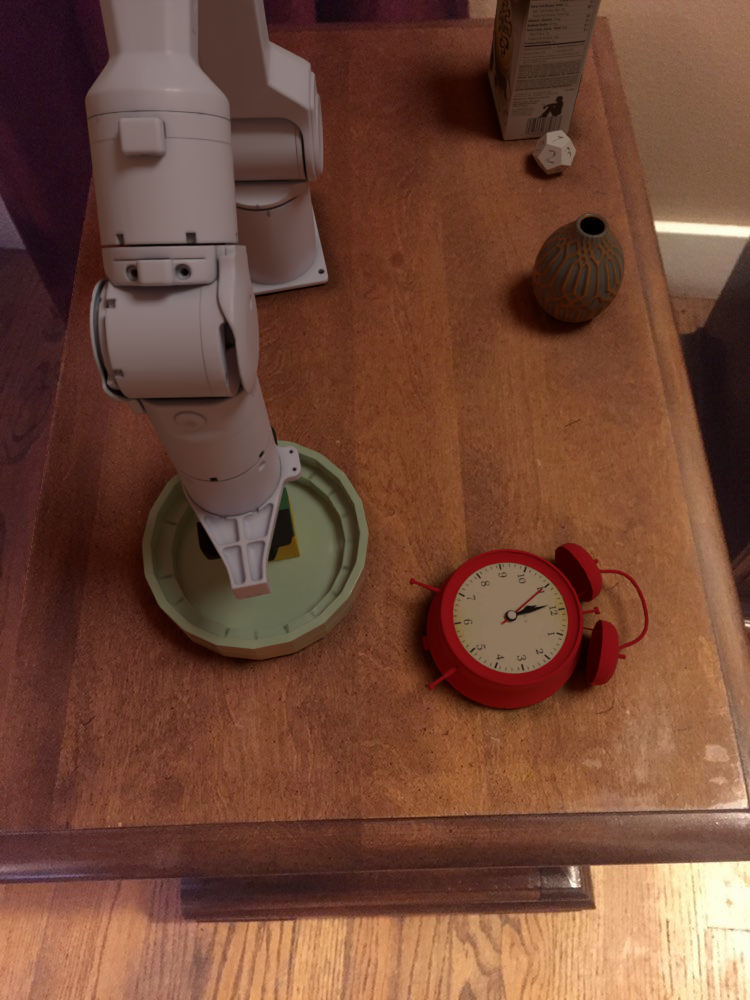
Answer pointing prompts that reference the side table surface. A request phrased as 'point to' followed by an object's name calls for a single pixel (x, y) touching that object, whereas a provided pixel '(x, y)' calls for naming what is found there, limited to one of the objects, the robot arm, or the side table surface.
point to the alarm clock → (520, 625)
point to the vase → (579, 269)
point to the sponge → (293, 548)
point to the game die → (554, 152)
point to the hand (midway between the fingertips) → (255, 532)
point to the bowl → (294, 581)
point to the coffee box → (539, 63)
